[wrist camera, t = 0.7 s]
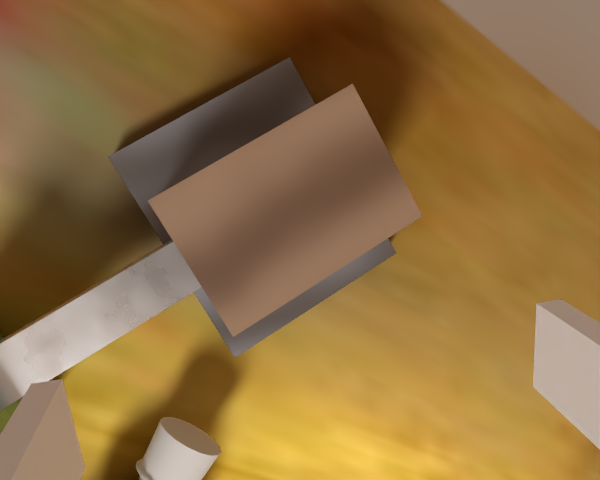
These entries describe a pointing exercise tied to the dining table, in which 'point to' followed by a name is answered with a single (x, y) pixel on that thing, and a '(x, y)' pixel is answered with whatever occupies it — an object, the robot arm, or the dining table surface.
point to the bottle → (178, 452)
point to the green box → (91, 322)
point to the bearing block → (270, 199)
